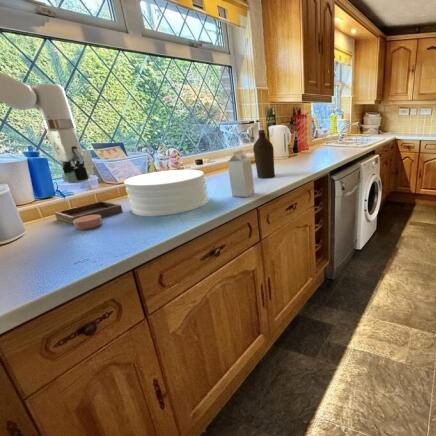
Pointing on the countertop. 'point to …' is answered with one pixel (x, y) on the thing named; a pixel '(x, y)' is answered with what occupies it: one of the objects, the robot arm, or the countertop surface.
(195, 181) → the plate stack
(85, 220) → the terracotta round puck
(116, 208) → the tray
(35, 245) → the countertop surface
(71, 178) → the green disc
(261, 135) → the olive oil
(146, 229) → the countertop surface
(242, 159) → the milk carton
